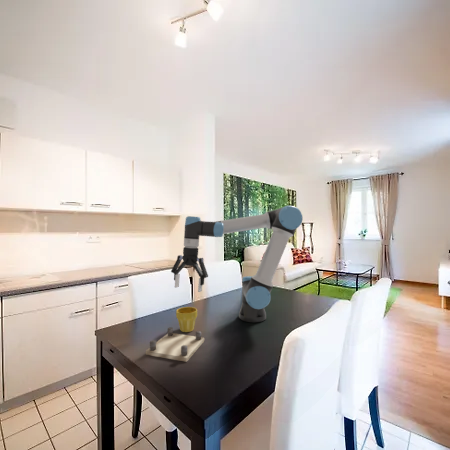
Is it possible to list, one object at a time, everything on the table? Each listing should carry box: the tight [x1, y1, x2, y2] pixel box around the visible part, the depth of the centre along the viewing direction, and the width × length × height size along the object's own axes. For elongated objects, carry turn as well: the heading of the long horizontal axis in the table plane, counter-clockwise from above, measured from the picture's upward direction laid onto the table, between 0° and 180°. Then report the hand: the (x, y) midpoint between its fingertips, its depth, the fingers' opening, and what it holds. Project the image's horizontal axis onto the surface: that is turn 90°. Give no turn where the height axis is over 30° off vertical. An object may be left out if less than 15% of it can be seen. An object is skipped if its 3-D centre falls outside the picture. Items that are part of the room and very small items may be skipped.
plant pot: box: [175, 306, 198, 333], centre depth 125 cm, size 10×10×10 cm
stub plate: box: [145, 326, 205, 362], centre depth 107 cm, size 18×18×4 cm
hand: (188, 289), depth 127 cm, fingers open, 13 cm apart
